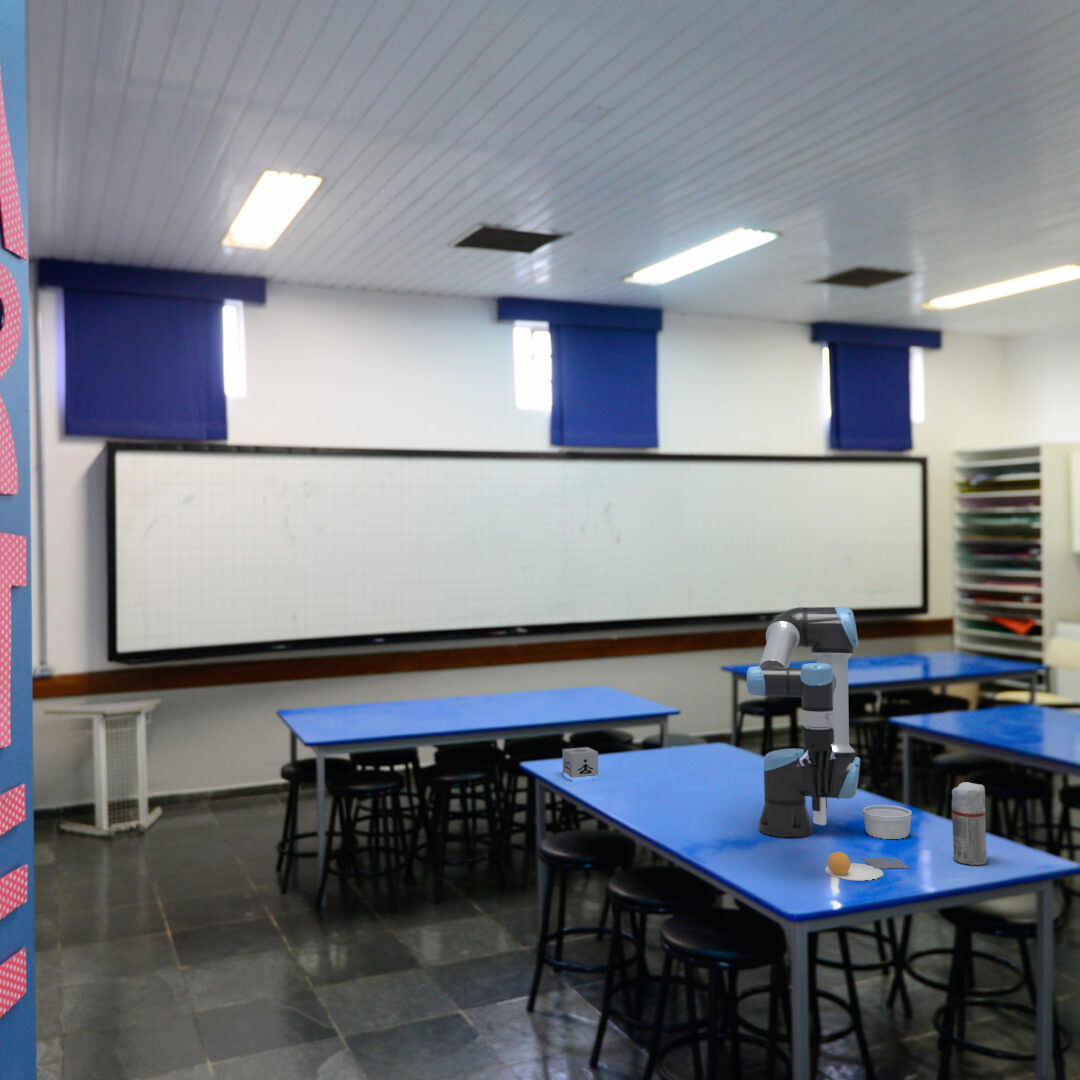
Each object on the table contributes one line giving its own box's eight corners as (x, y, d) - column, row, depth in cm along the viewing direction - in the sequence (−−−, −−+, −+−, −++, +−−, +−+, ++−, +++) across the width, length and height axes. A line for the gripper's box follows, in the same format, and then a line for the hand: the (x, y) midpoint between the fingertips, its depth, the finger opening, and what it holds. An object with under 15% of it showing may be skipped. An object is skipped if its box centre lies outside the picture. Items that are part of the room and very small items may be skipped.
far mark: (861, 859, 265) (861, 858, 265) (895, 857, 266) (895, 857, 266) (874, 869, 256) (874, 868, 256) (909, 868, 257) (909, 867, 257)
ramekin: (880, 843, 280) (880, 818, 280) (853, 831, 293) (853, 807, 293) (922, 839, 284) (921, 814, 284) (893, 827, 296) (893, 803, 296)
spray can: (988, 867, 256) (986, 788, 257) (953, 864, 259) (951, 786, 260) (986, 858, 264) (985, 781, 264) (952, 855, 267) (951, 779, 267)
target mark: (830, 861, 264) (830, 860, 264) (887, 867, 258) (887, 866, 258) (819, 876, 251) (819, 875, 251) (878, 883, 245) (878, 882, 245)
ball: (819, 858, 254) (829, 873, 256) (833, 868, 249) (843, 883, 250) (834, 843, 255) (844, 858, 257) (848, 852, 250) (858, 867, 252)
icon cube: (562, 776, 372) (562, 749, 373) (588, 774, 376) (587, 747, 376) (572, 782, 363) (571, 754, 363) (598, 779, 366) (597, 751, 366)
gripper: (811, 731, 242) (813, 831, 242) (848, 726, 249) (850, 822, 249) (787, 727, 248) (789, 824, 248) (824, 722, 255) (826, 816, 255)
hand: (819, 823), depth 248 cm, fingers closed
